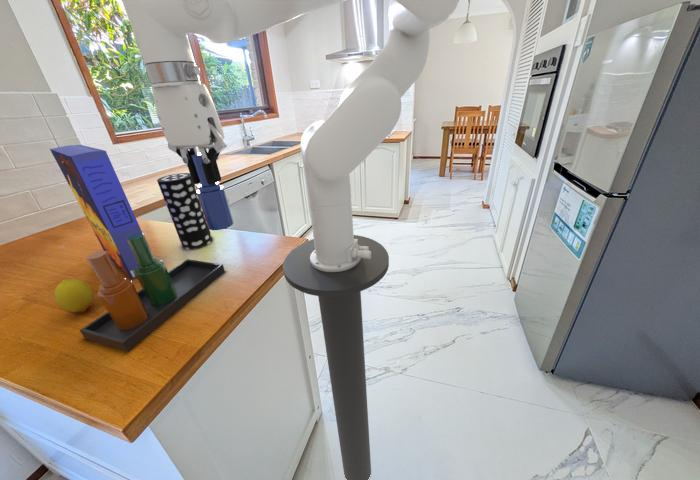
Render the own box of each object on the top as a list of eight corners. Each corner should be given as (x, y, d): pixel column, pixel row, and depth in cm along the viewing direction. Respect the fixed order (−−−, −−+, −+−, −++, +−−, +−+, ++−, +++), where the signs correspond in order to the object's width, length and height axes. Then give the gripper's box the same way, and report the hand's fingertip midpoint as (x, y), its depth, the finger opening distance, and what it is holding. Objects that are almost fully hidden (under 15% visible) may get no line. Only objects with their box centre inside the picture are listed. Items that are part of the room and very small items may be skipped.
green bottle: (182, 292, 63) (157, 231, 56) (162, 308, 59) (132, 244, 52) (164, 289, 65) (137, 229, 58) (144, 303, 61) (112, 241, 54)
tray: (225, 272, 71) (222, 264, 70) (128, 352, 50) (122, 342, 49) (190, 266, 75) (187, 259, 74) (85, 339, 54) (79, 330, 53)
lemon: (92, 299, 65) (74, 269, 61) (105, 306, 62) (87, 275, 58) (62, 315, 60) (40, 284, 57) (74, 323, 58) (53, 291, 54)
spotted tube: (175, 248, 84) (149, 181, 75) (196, 235, 91) (174, 172, 82) (199, 250, 82) (174, 182, 73) (218, 237, 89) (198, 173, 80)
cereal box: (106, 254, 84) (49, 148, 70) (129, 246, 88) (80, 143, 74) (132, 279, 71) (69, 155, 57) (158, 268, 75) (105, 149, 61)
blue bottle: (238, 220, 63) (219, 150, 56) (222, 231, 59) (199, 157, 52) (219, 219, 65) (198, 151, 58) (202, 229, 61) (177, 157, 54)
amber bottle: (154, 314, 58) (122, 248, 51) (130, 333, 53) (91, 264, 46) (136, 309, 59) (102, 245, 52) (110, 327, 55) (70, 260, 48)
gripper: (228, 72, 50) (253, 177, 58) (158, 80, 55) (190, 176, 63) (195, 71, 43) (228, 189, 52) (119, 81, 49) (161, 187, 57)
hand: (207, 181), depth 58 cm, fingers closed on blue bottle, 2 cm apart
